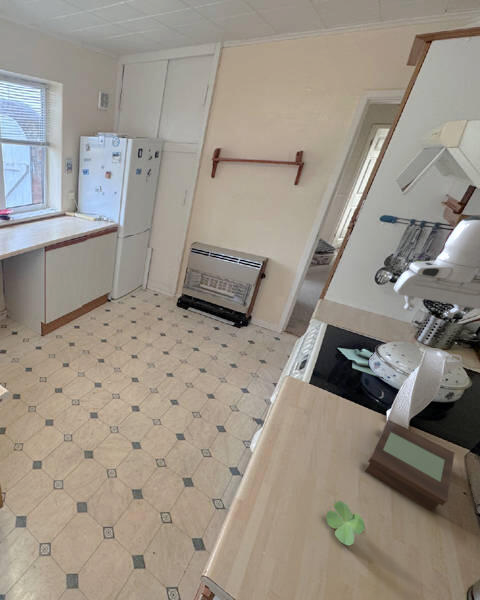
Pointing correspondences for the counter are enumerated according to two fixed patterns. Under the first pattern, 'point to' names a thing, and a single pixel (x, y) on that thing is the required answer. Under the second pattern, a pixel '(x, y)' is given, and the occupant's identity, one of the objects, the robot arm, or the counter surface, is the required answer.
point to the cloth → (359, 359)
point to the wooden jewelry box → (412, 465)
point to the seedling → (345, 523)
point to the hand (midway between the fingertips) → (426, 313)
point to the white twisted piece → (421, 385)
